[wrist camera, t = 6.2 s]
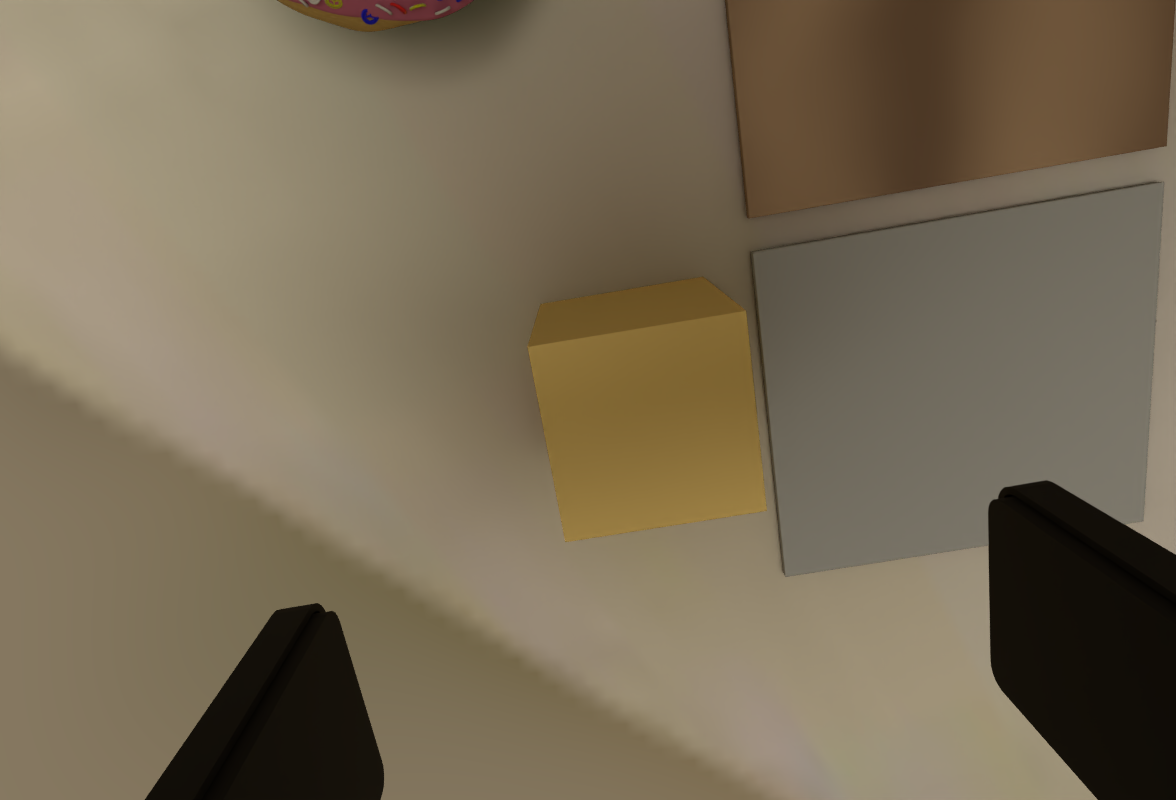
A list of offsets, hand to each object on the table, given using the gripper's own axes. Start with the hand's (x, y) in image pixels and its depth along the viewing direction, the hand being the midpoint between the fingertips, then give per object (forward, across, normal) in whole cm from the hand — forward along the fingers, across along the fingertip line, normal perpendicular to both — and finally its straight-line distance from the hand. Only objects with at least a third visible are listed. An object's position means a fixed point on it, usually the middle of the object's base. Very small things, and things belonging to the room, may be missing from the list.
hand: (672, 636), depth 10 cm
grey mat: (+13, -11, +2) cm, 17 cm away
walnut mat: (+13, -11, -10) cm, 20 cm away
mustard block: (+13, -1, -1) cm, 13 cm away
